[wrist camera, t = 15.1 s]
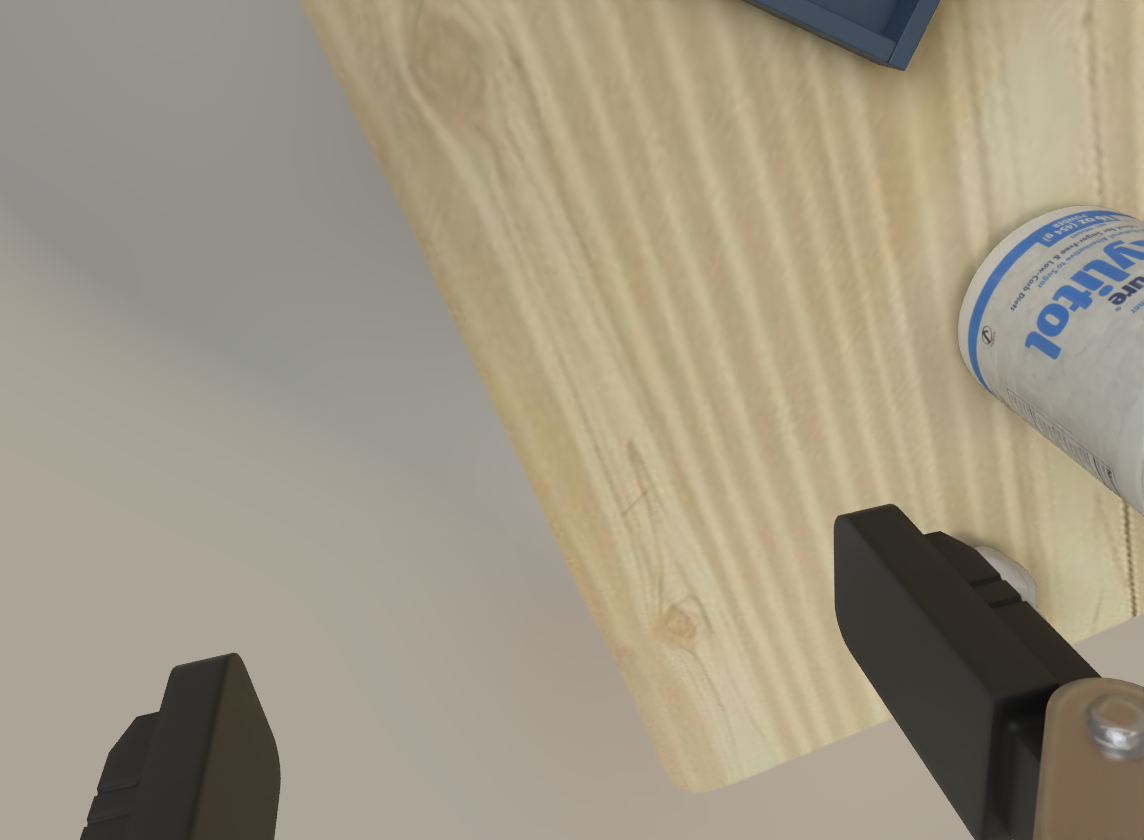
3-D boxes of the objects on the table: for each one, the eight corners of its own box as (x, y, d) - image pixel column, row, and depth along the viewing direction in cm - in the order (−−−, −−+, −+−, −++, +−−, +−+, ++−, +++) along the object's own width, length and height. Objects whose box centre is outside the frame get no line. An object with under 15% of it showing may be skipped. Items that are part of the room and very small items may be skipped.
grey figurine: (1004, 515, 50) (1105, 610, 43) (1009, 608, 53) (1103, 710, 46) (908, 547, 50) (993, 648, 43) (918, 638, 53) (999, 746, 46)
